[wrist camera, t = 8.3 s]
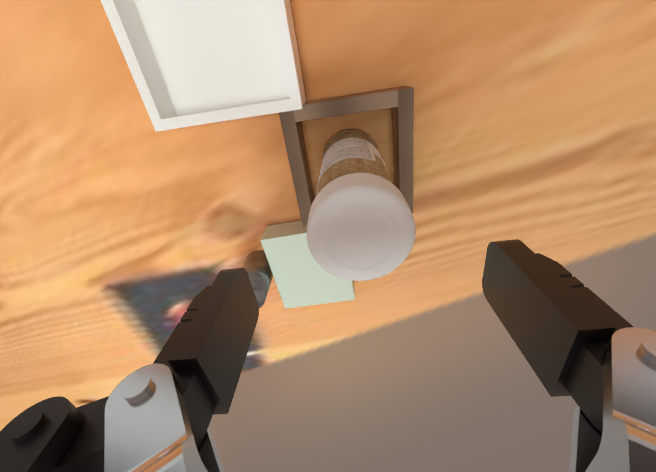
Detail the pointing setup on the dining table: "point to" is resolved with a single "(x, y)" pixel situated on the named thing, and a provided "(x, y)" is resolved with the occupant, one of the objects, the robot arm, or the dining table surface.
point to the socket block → (343, 105)
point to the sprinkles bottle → (358, 212)
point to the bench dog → (259, 274)
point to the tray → (209, 58)
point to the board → (301, 268)
